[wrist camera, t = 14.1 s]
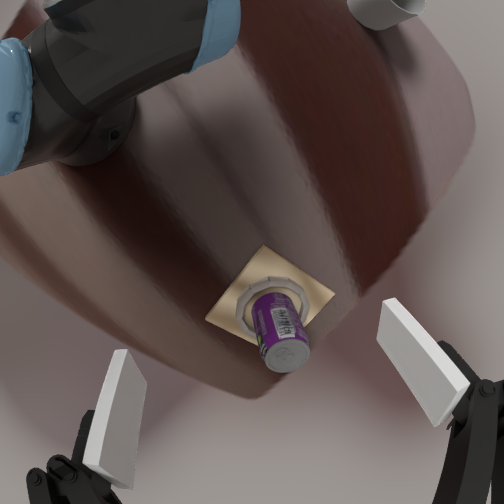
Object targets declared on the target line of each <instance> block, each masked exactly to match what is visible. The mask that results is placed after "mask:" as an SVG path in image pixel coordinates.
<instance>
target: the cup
mask: <svg viewBox="0 0 504 504" xmlns="http://www.w3.org/2000/svg"><path fill="white" fill-rule="evenodd" d="M347 4H348V8H349V11H350V12H351V13H352V15H353V16H354V18H355V19H356V20H357V21H359V22H360V23H361V24H362V25H364V26H365V27H368V28H370V29H373V30H385V29H387V28H389V27H391V26H393V25H396V24H398V23H400V22H402V21H405V20H407V19H409V18H412V17H414V16H417V15H419V14H421V13H422V12H423V11H425V4H426V3H425V0H347Z"/></svg>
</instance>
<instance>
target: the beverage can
mask: <svg viewBox="0 0 504 504" xmlns="http://www.w3.org/2000/svg"><path fill="white" fill-rule="evenodd" d="M251 315H252V319H253V324H254V329H255V333H256V338H257V342H258V347H259V352H260V355H261V358H262V359H263V360H264V361H265V362H266V365H267V367H268V368H269V369H271V370H272V371H275V372H281V373H284V372H290V371H293V370H296V369H298V368H300V367H301V366H303V365H304V364H305V363H306V362H307V360H308V358H309V356H310V349H309V345H310V342H309V338H308V336H307V333H306V331H305V329H304V327H303V324H302V322H301V320H300V318H299V315H298V313H297V311H296V309H295V306H294V304H293V302H292V300H291V299H290V298H289V297H288V296H287V295H285V294H283V293H278V292H272V293H268V294H265V295H263V296H261V297H260V298H258V299H257V300H256V301H255V303H254V304H253V306H252V310H251Z"/></svg>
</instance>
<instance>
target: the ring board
mask: <svg viewBox="0 0 504 504" xmlns="http://www.w3.org/2000/svg"><path fill="white" fill-rule="evenodd" d="M272 292H278V293H283V294H285V295H287V296H288V297H289V298H290V299H291V300H292V302H293V304H294V306H295V309H296V311H297V313H298V315H299V318H300V320H301V322H302V324H303V327H305V326H306V325H307V324H308V323H309V322H310V321H311V320H312V319H313V318H314V317H315V316H316V315H317V314H318V312H319V311H320V310H321V309H322V308H323V307H324V306H325V305H326V304H327V303H328V302H329V300H330V299H331V298H332V297H333V296H334V295H335V293H334V292H333V291H332V290H330V289H329V288H327V287H326V286H324V285H323V284H321V283H320V282H318V281H317V280H316V279H314V278H313V277H311V276H310V275H308V274H307V273H305V272H304V271H302V270H301V269H299V268H298V267H296V266H295V265H294V264H292V263H291V262H289V261H288V260H286V259H285V258H283V257H282V256H280V255H279V254H277V253H276V252H274V251H273V250H271V249H270V248H268V247H267V246H265V245H264V244H263V245H262V246H261V247H260V249H259V250H258V251H257V252H256V254H255V255H254V256H253V257H252V259H251V260H250V261H249V262H248V264H247V265H246V266H245V267H244V269H243V270H242V271H241V273H240V274H239V275H238V276H237V278H236V279H235V280H234V281H233V283H232V284H231V285H230V286H229V288H228V289H227V290H226V291H225V293H224V294H223V295H222V297H221V298H220V299H219V300H218V302H217V303H216V304H215V305H214V307H213V308H212V309H211V310H210V312H209V313H208V314H207V315H206V317H205V320H207V321H209V322H211V323H213V324H215V325H217V326H219V327H221V328H223V329H225V330H227V331H229V332H231V333H233V334H235V335H237V336H239V337H241V338H243V339H245V340H247V341H249V342H251V343H254V344H256V345H258V342H257V338H256V333H255V329H254V324H253V319H252V315H251V310H252V306H253V304H254V303H255V301H256V300H257V299H258V298H260V297H261V296H263V295H265V294H268V293H272Z"/></svg>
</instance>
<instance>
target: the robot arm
mask: <svg viewBox="0 0 504 504" xmlns="http://www.w3.org/2000/svg"><path fill="white" fill-rule="evenodd" d="M42 7H43V9H44V10H45V12H46V13H47V14H48V16H49V17H50V18H49V19H48V20H47V21H45V22H44V23H43V24H41V25H40V26H39V27H38V28H36V29H35V30H34V31H33V32H32V33H30V34H29V35H28V36H27V37H26V38H25V39H23V40H22V41H20V40H19V39H16V38H8V39H5V40H0V176H4V175H8V174H9V173H11V172H13V171H16V170H19V169H23V168H26V167H30V166H33V165H37V164H40V163H44V162H48V161H52V160H57V161H59V162H61V163H63V164H66V165H70V166H86V165H90V164H93V163H97V162H99V161H101V160H103V159H105V158H107V157H108V156H110V155H111V154H112V153H113V152H115V151H116V150H117V149H118V148H119V146H120V145H121V144H122V143H123V141H124V140H125V138H126V137H127V135H128V133H129V131H130V129H131V126H132V123H133V120H134V115H135V96H137V95H139V94H141V93H143V92H145V91H147V90H149V89H151V88H153V87H155V86H157V85H159V84H161V83H163V82H165V81H167V80H169V79H171V78H174V77H176V76H178V75H180V74H183V73H184V74H189V73H191V72H193V71H194V70H196V69H197V67H200V66H202V65H204V64H207V63H209V62H211V61H214V60H216V59H219V58H221V57H223V56H224V55H226V54H227V53H228V52H229V51H230V49H231V48H233V46H234V45H235V43H236V40H237V38H238V34H239V29H240V18H241V11H240V0H43V2H42ZM377 341H378V343H379V344H380V345H381V347H382V348H383V350H384V351H385V353H386V354H387V356H388V357H389V358H390V360H391V361H392V363H393V364H394V366H395V367H396V369H397V370H398V372H399V373H400V375H401V376H402V378H403V379H404V381H405V382H406V384H407V385H408V387H409V388H410V390H411V391H412V393H413V394H414V396H415V397H416V399H417V401H418V402H419V404H420V405H421V407H422V408H423V410H424V412H425V413H426V415H427V416H428V418H429V420H430V421H431V423H432V424H433V426H434V427H436V426H437V425H439V424H441V423H442V422H444V421H446V420H447V419H448V417H449V416H450V415H451V413H452V414H453V416H454V418H453V419H452V421H451V422H450V423H449V425H448V426H447V430H448V429H449V428H450V427H451V426H452V428H451V433H450V438H449V444H448V448H447V453H446V457H445V462H444V466H443V470H442V474H441V477H440V481H439V484H438V487H437V491H436V494H435V497H434V500H433V502H432V504H486V500H487V496H488V492H489V487H490V482H491V504H504V380H502V381H498V382H494V383H493V382H492V381H490V380H487V379H483V380H481V379H480V378H479V377H478V376H477V375H476V374H475V372H474V371H473V370H472V369H471V368H470V367H469V365H468V364H467V363H466V362H465V361H464V359H462V357H461V356H460V355H459V354H457V352H456V350H455V349H454V348H453V347H452V346H451V345H450V344H448V343H446V342H444V341H439V342H437V343H436V342H435V341H434V340H433V338H432V337H431V336H430V335H429V334H428V333H427V332H426V331H425V330H424V328H423V327H422V326H421V325H420V324H419V323H418V322H417V321H416V320H415V319H414V318H413V317H412V315H411V314H410V313H409V312H408V311H407V310H406V309H405V308H404V307H403V306H402V305H401V304H400V303H399V302H398V300H397V299H396V298H391V299H388V300H385V301H383V303H382V310H381V316H380V323H379V329H378V335H377ZM146 388H147V383H146V381H145V379H144V377H143V376H142V374H141V372H140V371H139V369H138V367H137V365H136V364H135V362H134V360H133V358H132V356H131V354H130V352H129V351H128V349H121V350H115V351H114V354H113V357H112V360H111V363H110V366H109V368H108V372H107V374H106V378H105V381H104V384H103V387H102V390H101V393H100V396H99V400H98V403H97V407H96V410H88V411H87V412H86V414H85V415H84V416H83V418H82V421H81V424H80V429H79V431H78V436H77V439H76V442H75V446H74V450H73V454H72V458H71V460H69V459H68V458H67V457H65V456H63V455H54V456H52V457H51V458H50V459H49V461H48V463H47V467H46V469H47V473H46V472H44V471H43V470H41V469H39V468H33V469H31V470H30V471H29V472H28V474H27V477H26V482H27V489H28V494H29V500H30V504H122V503H121V501H120V500H119V499H118V497H117V496H116V494H115V493H114V492H113V491H112V490H111V484H113V485H114V486H116V487H118V488H123V489H131V490H133V482H134V473H135V463H136V454H137V446H138V439H139V431H140V425H141V418H142V411H143V405H144V399H145V394H146Z"/></svg>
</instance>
